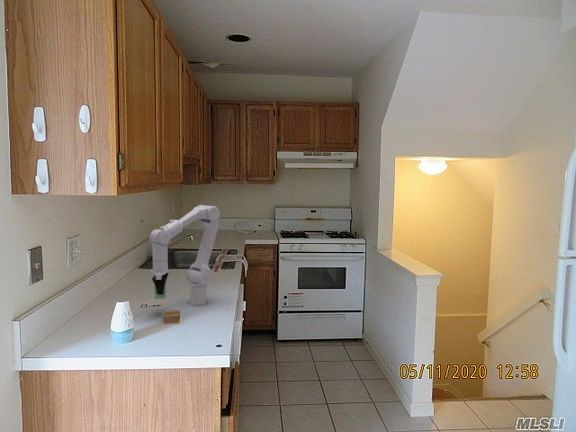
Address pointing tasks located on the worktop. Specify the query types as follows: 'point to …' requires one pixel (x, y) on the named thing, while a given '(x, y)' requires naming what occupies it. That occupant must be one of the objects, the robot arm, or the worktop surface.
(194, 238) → the worktop surface
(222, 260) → the worktop surface
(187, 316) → the worktop surface
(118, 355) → the worktop surface
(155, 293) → the teal block
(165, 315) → the walnut slab
